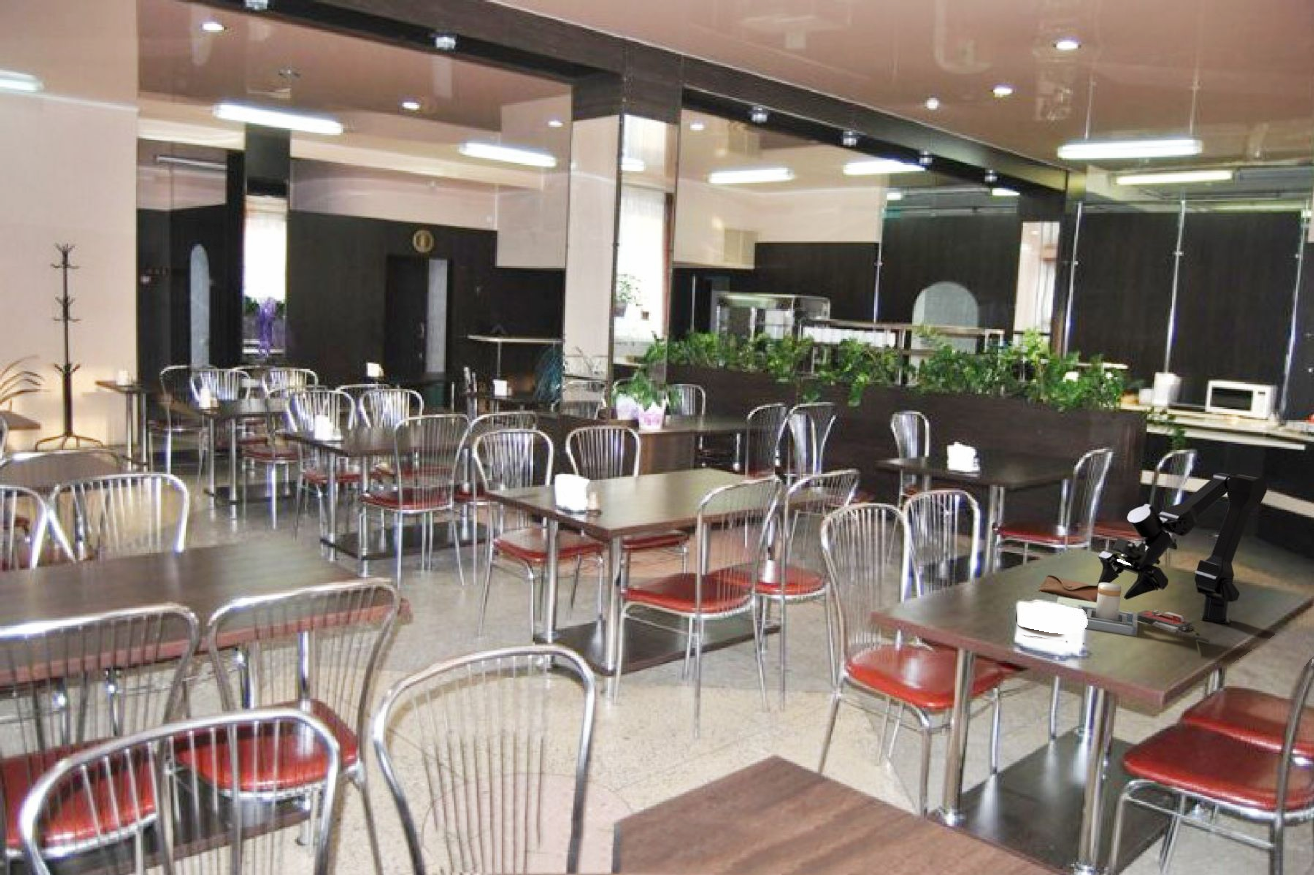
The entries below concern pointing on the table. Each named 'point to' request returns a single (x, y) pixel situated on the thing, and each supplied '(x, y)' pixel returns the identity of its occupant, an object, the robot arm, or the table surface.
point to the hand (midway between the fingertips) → (1111, 593)
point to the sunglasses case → (1069, 589)
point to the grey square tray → (1112, 622)
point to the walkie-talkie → (1168, 622)
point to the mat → (1075, 602)
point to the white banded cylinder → (1108, 601)
